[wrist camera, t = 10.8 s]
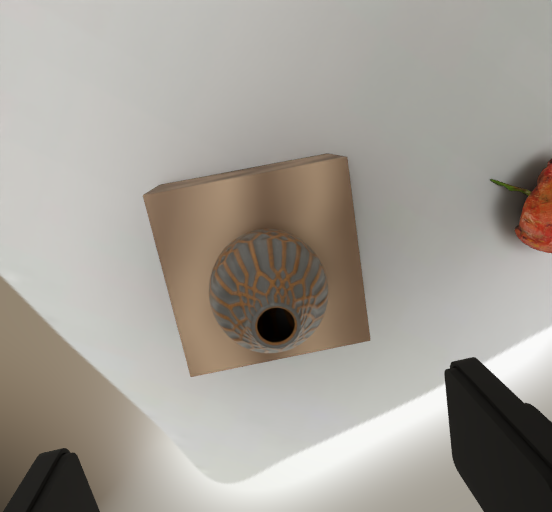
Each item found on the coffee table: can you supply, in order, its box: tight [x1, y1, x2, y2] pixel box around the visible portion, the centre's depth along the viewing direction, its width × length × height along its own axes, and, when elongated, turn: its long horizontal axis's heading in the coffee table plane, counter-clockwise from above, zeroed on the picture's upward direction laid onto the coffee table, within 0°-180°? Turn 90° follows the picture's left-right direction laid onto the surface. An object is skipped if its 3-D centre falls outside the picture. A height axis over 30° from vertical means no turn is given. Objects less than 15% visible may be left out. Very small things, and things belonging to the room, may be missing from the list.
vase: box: [209, 229, 328, 353], centre depth 25 cm, size 7×7×9 cm
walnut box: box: [143, 154, 370, 377], centre depth 32 cm, size 13×13×6 cm
